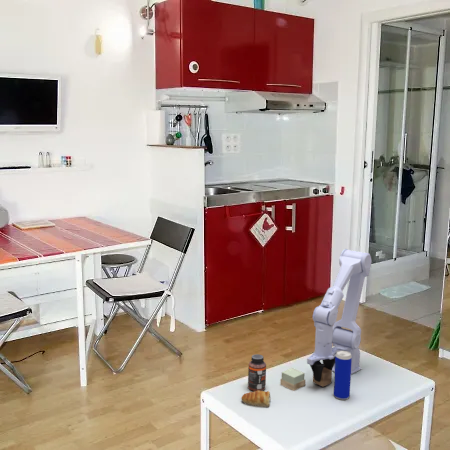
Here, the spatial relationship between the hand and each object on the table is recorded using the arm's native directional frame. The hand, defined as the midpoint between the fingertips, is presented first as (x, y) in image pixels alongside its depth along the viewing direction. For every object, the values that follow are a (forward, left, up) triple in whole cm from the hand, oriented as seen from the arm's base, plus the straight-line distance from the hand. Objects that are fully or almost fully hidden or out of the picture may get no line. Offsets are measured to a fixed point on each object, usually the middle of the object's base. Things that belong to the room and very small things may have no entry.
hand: (322, 378), depth 187 cm
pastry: (+26, -5, -3) cm, 26 cm away
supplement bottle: (+19, -12, -2) cm, 23 cm away
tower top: (+8, -6, 0) cm, 10 cm away
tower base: (+8, -6, -3) cm, 10 cm away
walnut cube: (0, 0, -2) cm, 2 cm away
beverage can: (+2, +10, -2) cm, 10 cm away
